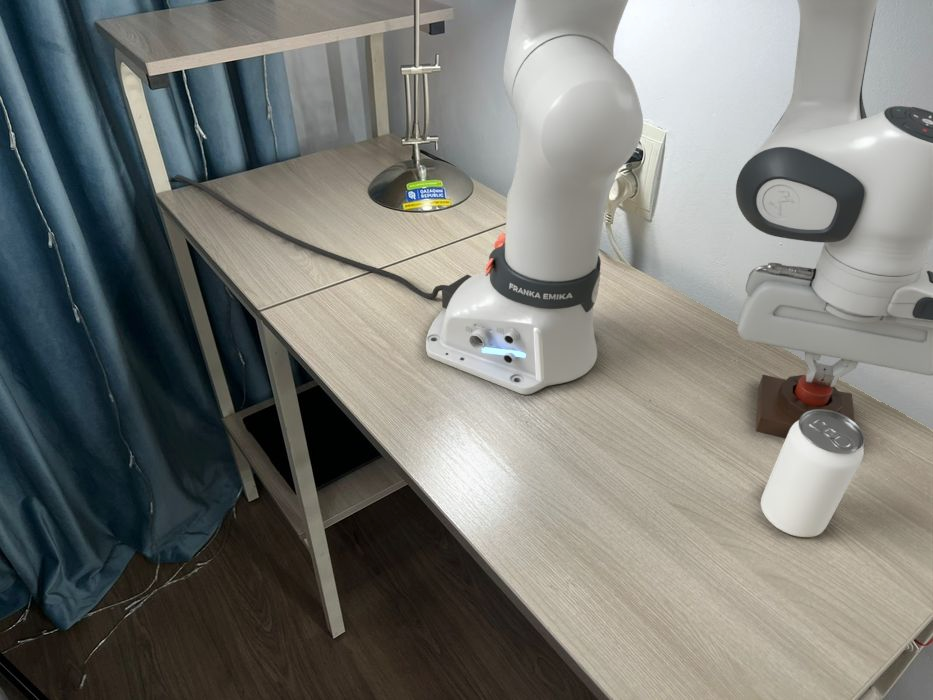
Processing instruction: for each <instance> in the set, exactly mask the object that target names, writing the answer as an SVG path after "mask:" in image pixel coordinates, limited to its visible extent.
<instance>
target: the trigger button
mask: <svg viewBox="0 0 933 700" xmlns="http://www.w3.org/2000/svg"><path fill="white" fill-rule="evenodd" d="M804 375H805V376H802V377H801V378H800V379H799V381H798V384H797V386H796V389H795V396H796V397H797V399H798V400H800V401H802V402H804V403H806V404H807V405H811V406H816V407H821V406H824V405H826V404H827V403H828V401H829V399H830V396H831V394H832V392H833V387H830V386H825V385H821V384H815V383H810V382H806V374H804Z"/></svg>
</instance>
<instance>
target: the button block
mask: <svg viewBox="0 0 933 700" xmlns="http://www.w3.org/2000/svg"><path fill="white" fill-rule="evenodd" d="M805 375H806V374H799V375H791V376H788V377H787V378H781V377H777V376H772V375H766V374H762V376H761V379H760V380H759V384H758V387H757V399H756V400H757V402H756V418H755V419H756V421H755V432H758V433H763V434H767V435H771V436H775V437H779V438H784V439H786V437H787V435H788V432H789V430H790V428H791V427H792V425H793V424H794V423H795V422H797V421H798V420H799V419H800V417H801V416H802V415H803V414H804V413H805V412H807V411H810V410H815V409H824V410H830V411H834V412H837V413H840V414H842V415H844V416H846V417H848V418H850V419H851V420H853V421H854V422H855V423H856V421H855V419H856V418H855V412H854V400H853V394H852V393H851V392H845V391H841V390H838V388H836V386H835V387H833V392H832V394H831V396H830V399H829V401H828V403H827V404H826V405H824V406H821V407H816V406H811V405H807V404H806V403H804V402H802V401H800V400H798V399H797V397H796V396H795V389H796V386H797V384H798V381H799V379H800V378H801V377H802V376H805Z"/></svg>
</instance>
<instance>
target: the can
mask: <svg viewBox="0 0 933 700" xmlns="http://www.w3.org/2000/svg"><path fill="white" fill-rule="evenodd" d="M784 439H785V440H784V442H783V443H782V447H781V449H780V451H779V454H778V456H777V458H776V461H775V463H774V464H773V465H774V466H773V467H772V470H771V473H770V475H769V477H768V480H767V482H766V485H765V487H764V490H763V491H762V495H761V498H760V508H761V512H762V513H763V515H764V516H765V518H766V519H767V520H768V522H769V523H770V524H771V525H772V526H774V527H775V528H776V529H778V530H779V531H781V532H783V533H784V534H787V535H790V536H793V537H797V538H813V537H816V536H818V535H821V534H823V532H824V531H825V530H826V528H827V526H828V525H829V523H830V521H831V519H832V517H833V515H834V514H835V513H836V510H837V508H838V506H839V505H840V502H841V501H842V499H843V497H844V495H845V493H846V492H847V490H848V488H849V486H850V484H851V483H852V480H853V479H854V477H855V475H856V473H857V471H858V469H859V467H860V465H861V463H862V461H863V458H864V454H865V449H864V446H865V444H866V436H865V433H864V431H863V429H862V428H861V427H860V425H859V424H857V422H856V421H855V422H854V421H853V420H851V419H850V418H848V417H846V416H844V415H842V414H840V413H837V412H834V411H830V410H824V409H815V410H810V411H807V412H805V413H804V414H803V415H802V416H801V417H800V419H799V420H798V421H797V422H795V423H794V424H793V425H792V427H791V428H790V430H789V432H788V435H787V437H786V438H784Z"/></svg>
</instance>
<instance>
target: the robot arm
mask: <svg viewBox="0 0 933 700" xmlns="http://www.w3.org/2000/svg"><path fill="white" fill-rule="evenodd" d="M796 1H797V4H798V9H799V11H798V12H799V28H798V29H799V31H798V41H797V49H796V59H795V67H794V68H795V69H794V77H793V86H792V93H791V97H790V101H789V103H788V105H787V108H786V109H785V111H784V112H783V114H782V116H781V117H780V119H779V120H778V122H777V123H776V125H775V126H774V128H773V130H772V131H771V133H770V134H769V136H768V137H767V138H765V140H764V141H763V143H762V144H761V145H760V146H758V148H756V150H755V151H754V152H753V154H751V156H750V157H749V159H748V160H747V162H745V164H744V165H743V166H742V169H741V170H740V172H739V174H738V176H737V180H736V184H735V198H736V203H737V206H738V208H739V211H740V212H741V214H742V216H743V217H744V218H745V220H746V221H747V222H748V223H749V224H750V225H751V226H753V228H755V229H756V230H758V231H760V232H762V233H764V234H766V235H769V236H772V237H777V238H783V239H788V240H793V241H801V242H802V241H803V242H813V243H823V246H822V248H821V252H820V253H819V257H818V260H817V261H816V266H815V267H814V268H811V267H804V266H799V265H798V266H795V265H786V264H782V263H780V262H768V263H767V264H764V265H759V266H757V267H755V268H753V269H752V270H751V271H750V273H749V274H748V276H747V279H746V280H747V281H746V284H745V292H746V294H747V295H746V297H745V299H744V302H743V304H742V306H741V309H740V312H739V315H738V320H737V332H738V334H739V337H740V338H741V339H742V340H744V341H745V342H751V343H756V344H763V345H767V346H772V347H777V348H782V349H783V348H784V349H789V350H794V351H799V352H803V353H804V359H805V363H806V364H807V370H806V374H805V375H806V382H810V383H815V384H821V385H825V386H830V387H835V388H836V386H837V383H838V381H839V378H841V377H843V376H845V375H847V374H848V373H851V372H852V371H854V370H855V369H857V366H858V364H859V363H862V364H867V365H872V366H877V367H881V368H882V367H883V368H888V369H892V370H893V369H894V370H897V371H898V370H899V371H903V372H908V373H913V374H919V375H924V376H929V377H931V376H933V265H932V264H930V263H928V262H927V258H928V250H929V249H928V248H929V246H930V243H931V242H932V240H933V111H931V110H928V109H925V108H921V107H917V106H902V105H897V106H896V105H895V106H894V105H893V106H890V107H889V106H888V107H887V108H885V109H884V110H882V111H880V112H878V113H875V114H873V115H870V116H867V113H866V109H865V105H864V99H863V87H864V86H863V84H864V79H865V72H866V66H867V62H868V55H869V50H870V44H871V37H872V32H873V27H874V20H875V16H876V11H877V10H876V9H877V5H878V2H879V0H796ZM628 3H629V0H515V4H514V9H513V14H512V19H511V24H510V29H509V34H508V41H507V46H506V51H505V55H504V59H503V72H502V78H503V79H502V80H503V81H502V82H503V87H504V88H503V89H504V92H505V95H506V97H507V99H508V102H509V103H510V106H511V108H512V110H513V113H514V116H515V118H516V123H517V132H518V149H517V158H516V164H515V169H514V174H513V179H512V182H511V186H510V188H509V189H508V192H507V195H506V213H505V214H506V217H505V232H504V233H500V235H498V237H497V239H496V241H494V244H493V247H494V249H493V250H492V251H491V252H490V254H489V256H488V262H487V263H486V264H485V265H486V266H485V271H482V272H480V273H477V274H474V275H472V276H471V275H470V274H465V275H463V276H462V277H461V278H458V279H457V280H456V281H454V282H452V283H451V284H449V285H447V284H440V285H437V286H435V287H434V288H433V289H432V292H431V293H430V292H429V293H427V292H424V291H422V290H420V288H418V287H416V286H415V285H414V284H413V283H411V282H410V281H408V280H407V279H405V278H404V277H402V276H400V275H397V274H395V273H393V272H390V271H388V270H384V269H382V268H378V267H375V266H372V265H368V264H365V263H363V262H359V261H357V260H353V259H351V258H347V257H345V256H341V255H339V254H336V253H334V252H331V251H328V250H325V249H322V248H320V247H317V246H315V245H313V244H310V243H308V242H305V241H302V240H300V239H298V238H296V237H293V236H291V235H289V234H286V233H285V232H283V231H281V230H279V229H277V228H275V227H273V226H271V225H269V224H267V223H266V222H263V221H261V220H260V219H258V218H256V217H254V216H253V215H251V214H249V213H248V212H247V211H244V210H243V209H241V208H240V207H238V206H236V205H235V204H233V203H232V202H230V201H228V200H227V199H225V198H224V197H223V196H221V195H219V194H217V192H214V191H213V190H211V189H210V188H208V186H206V185H204V184H202V183H199V182H198V181H195V180H193V179H191V178H188V177H186V176H184V175H180V174H175V175H176V176H175V178H172V177H171V176H170V177H169V178H168V179H169V181H168V182H173V181H174V180H180V181H183V182H185V183H188V184H190V185H191V186H194V187H197V188H199V189H201V190H203V191H204V192H205V193H207V194H209V195H210V196H211V197H213V198H214V199H216V200H217V201H218V202H221V203H222V204H224V205H225V206H227V207H228V208H230V209H231V210H233V211H235V212H236V213H238V214H239V215H241V216H242V217H244V218H246V219H248V220H249V221H250V222H252V223H254V224H256V225H257V226H260V227H261V228H263V229H265V230H267V231H269V232H270V233H273V234H275V235H277V236H278V237H280V238H282V239H284V240H286V241H289V242H290V243H293V244H295V245H297V246H300V247H303V248H304V249H306V250H309V251H312V252H314V253H317V254H320V255H322V256H324V257H327V258H330V259H333V260H336V261H338V262H341V263H344V264H347V265H350V266H352V267H355V268H358V269H362V270H364V271H368V272H371V273H374V274H377V275H380V276H383V277H386V278H389V279H391V280H394V281H396V282H398V283H400V284H402V285H403V286H405V287H406V288H408V289H409V290H410V291H411V292H413V293H415V294H416V295H418V296H420V297H422V298H423V299H427V300H433V299H436V298H437V296H438V294H439V292H441V307H442V308H443V309H442V310H441V311H440V312H439V313H438V314H437V316H436V317H435V319H434V320H433V321H432V324H430V325H431V326H430V327H429V329H428V332H427V335H426V340H425V350H426V355H427V356H428V357H429V359H432V360H435V361H437V362H439V363H442V364H444V365H447V366H449V367H452V368H455V369H457V370H460V371H461V372H464V373H467V374H470V375H472V376H475V377H477V378H480V379H482V380H485V381H487V382H489V383H493V384H494V385H497V386H500V387H503V388H504V389H507V390H510V391H513V392H515V393H518V394H521V395H532V394H534V393H536V392H538V391H540V390H543V389H544V388H546V387H549V386H554V385H560V384H565V383H568V382H569V383H570V382H571V381H574V380H577V379H579V378H582V377H583V376H584V375H586V374H587V373H588V372H589V371H590V370H591V369H592V368H593V367H594V365H595V364H596V361H597V359H598V352H599V351H598V346H597V343H596V342H597V341H596V338H595V327H594V306H595V304H596V302H597V299H598V294H599V289H600V288H599V287H600V281H601V275H602V273H601V264H602V263H601V261H602V259H601V257H600V255H599V253H600V246H601V240H602V232H603V225H604V218H605V213H606V209H607V208H606V207H607V204H608V203H607V202H608V199H609V196H610V193H611V190H612V187H613V185H614V183H615V179H616V177H617V175H618V172H619V170H620V169H621V168H623V166H624V165H625V164H626V163H627V162H628V161H629V160H630V159H631V157H633V155H634V154H635V152H636V150H637V148H638V147H639V143H640V142H641V139H642V134H643V129H644V117H643V110H642V105H641V102H640V98H639V95H638V92H637V89H636V86H635V84H634V81H633V80H632V77H631V76H630V74H629V73H628V72H627V70H626V69H625V68H624V67H623V66H622V65H621V64H620V63H619V62H618V61H617V60H616V59H615V55H614V47H615V46H614V45H615V39H616V35H617V33H618V29H619V25H620V23H621V20H622V18H623V15H624V12H625V10H626V7H627V5H628ZM822 356H824V357H831V358H834V359H835V358H836V359H839V360H838V361H836V362H835V363H833V365H829V364H823V363H818V362H817V361H820V360H821V357H822Z"/></svg>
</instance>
